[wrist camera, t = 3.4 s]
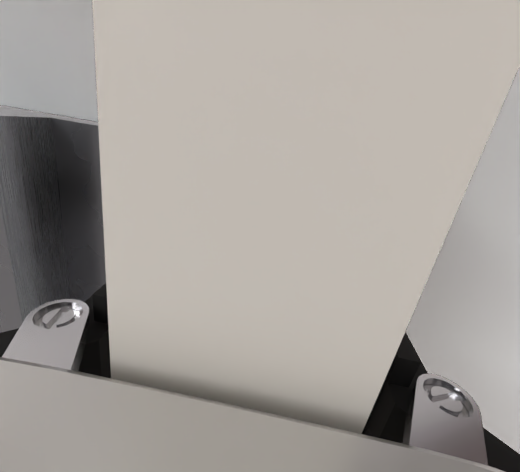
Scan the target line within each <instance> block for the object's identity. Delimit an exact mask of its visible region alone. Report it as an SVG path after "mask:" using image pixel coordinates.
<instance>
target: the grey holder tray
mask: <svg viewBox="0 0 520 472" xmlns="http://www.w3.org/2000/svg"><path fill="white" fill-rule="evenodd" d="M105 283H106V268H105V248H104V228H103V208H102V188H101V168H100V149H99V129H98V122H95V121H90V120H84V119H78V118H72V117H67V116H61V115H55V114H49V113H44V112H38V111H32V110H26V109H21V108H15V107H9V106H3V105H0V333H1V332H6V331H10V330H14V329H18V328H20V326H21V325H22V323H23V321H24V320H25V318H26V316H27V315H28V314H29V313H30V312H31V311H32V310H34V309H35V308H37V307H38V306H40V305H43V304H45V303H47V302H51V301H55V300H61V299H76V300H80V301H83V302H85V301H86V300H87V299H88V298H90V297H91V296H92V294H93V293H94V292H96V291H97V290H98V289H99V288H100V287H102V286H103V285H104V284H105Z"/></svg>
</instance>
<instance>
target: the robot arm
mask: <svg viewBox="0 0 520 472" xmlns="http://www.w3.org/2000/svg"><path fill="white" fill-rule="evenodd" d="M0 472H520V454H518V453H517V452H516V451H514V450H513V449H512V448H510V447H509V446H507V445H506V444H505V443H503V442H502V441H501V440H499V439H498V438H497V437H495V436H494V435H492V434H491V433H490V432H488V431H487V430H486V429H484V428H483V426H482V419H481V413H480V410H479V407H478V405H477V404H476V402H475V401H474V399H473V398H472V397H471V396H470V395H469V394H468V393H467V392H466V391H465V390H464V389H463V388H461V387H460V386H459V385H457V384H456V383H454V382H452V381H451V380H449V379H447V378H445V377H442V376H439V375H436V374H430V373H429V374H428V373H427V371H426V370H425V368H424V366H423V364H422V362H421V360H420V358H419V356H418V355H417V353H416V351H415V349H414V347H413V345H412V343H411V342H410V340H409V338H408V336H407V334H406V332H405V334H404V336H403V339H402V341H401V343H400V346H399V348H398V350H397V353H396V355H395V357H394V360H393V362H392V364H391V366H390V369H389V371H388V373H387V376H386V378H385V380H384V383H383V385H382V387H381V390H380V392H379V394H378V397H377V399H376V401H375V404H374V406H373V408H372V411H371V413H370V415H369V418H368V420H367V422H366V425H365V427H364V429H363V432H362V434H359V433H355V432H350V431H346V430H341V429H337V428H333V427H328V426H324V425H320V424H315V423H311V422H306V421H302V420H298V419H293V418H289V417H284V416H280V415H275V414H271V413H266V412H262V411H257V410H253V409H248V408H244V407H239V406H235V405H230V404H226V403H221V402H217V401H212V400H208V399H203V398H199V397H194V396H190V395H185V394H181V393H176V392H171V391H167V390H162V389H157V388H153V387H148V386H144V385H139V384H134V383H130V382H125V381H120V380H116V379H111V368H110V348H109V328H108V308H107V288H106V283H105V284H104V285H103V286H102V287H100V288H99V289H98V290H97V291H96V292H94V293H93V294H92V296H91V297H90V298H88V299H87V300H86V301H85V302H83V301H80V300H76V299H61V300H55V301H51V302H47V303H45V304H43V305H40V306H38V307H37V308H35V309H34V310H32V311H31V312H30V313H29V314H28V315H27V316H26V318H25V320H24V321H23V323H22V325H21V326H20V328H18V329H14V330H10V331H6V332H1V333H0Z"/></svg>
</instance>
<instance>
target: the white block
mask: <svg viewBox="0 0 520 472" xmlns="http://www.w3.org/2000/svg"><path fill="white" fill-rule="evenodd" d="M92 9H93V29H94V49H95V69H96V89H97V109H98V129H99V149H100V168H101V188H102V208H103V228H104V248H105V268H106V288H107V308H108V328H109V348H110V368H111V379H116V380H120V381H125V382H130V383H134V384H139V385H144V386H148V387H153V388H157V389H162V390H167V391H171V392H176V393H181V394H185V395H190V396H194V397H199V398H203V399H208V400H212V401H217V402H221V403H226V404H230V405H235V406H239V407H244V408H248V409H253V410H257V411H262V412H266V413H271V414H275V415H280V416H284V417H289V418H293V419H298V420H302V421H306V422H311V423H315V424H320V425H324V426H328V427H333V428H337V429H341V430H346V431H350V432H355V433H359V434H362V432H363V429H364V427H365V425H366V422H367V420H368V418H369V415H370V413H371V411H372V408H373V406H374V404H375V401H376V399H377V397H378V394H379V392H380V390H381V387H382V385H383V383H384V380H385V378H386V376H387V373H388V371H389V369H390V366H391V364H392V362H393V360H394V357H395V355H396V353H397V350H398V348H399V346H400V343H401V341H402V339H403V336H404V334H405V332H406V329H407V327H408V325H409V322H410V320H411V318H412V315H413V313H414V311H415V308H416V306H417V304H418V301H419V299H420V297H421V294H422V292H423V290H424V287H425V285H426V283H427V281H428V278H429V276H430V274H431V271H432V269H433V267H434V264H435V262H436V260H437V257H438V255H439V253H440V250H441V248H442V246H443V243H444V241H445V239H446V236H447V234H448V232H449V229H450V227H451V225H452V222H453V220H454V218H455V215H456V213H457V211H458V209H459V206H460V204H461V202H462V199H463V197H464V195H465V192H466V190H467V188H468V185H469V183H470V181H471V178H472V176H473V174H474V171H475V169H476V167H477V164H478V162H479V160H480V157H481V155H482V153H483V150H484V148H485V146H486V143H487V141H488V139H489V136H490V134H491V132H492V130H493V127H494V125H495V123H496V120H497V118H498V116H499V113H500V111H501V109H502V106H503V104H504V102H505V99H506V97H507V95H508V92H509V90H510V88H511V85H512V83H513V81H514V78H515V76H516V74H517V71H518V69H519V67H520V0H92Z"/></svg>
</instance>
